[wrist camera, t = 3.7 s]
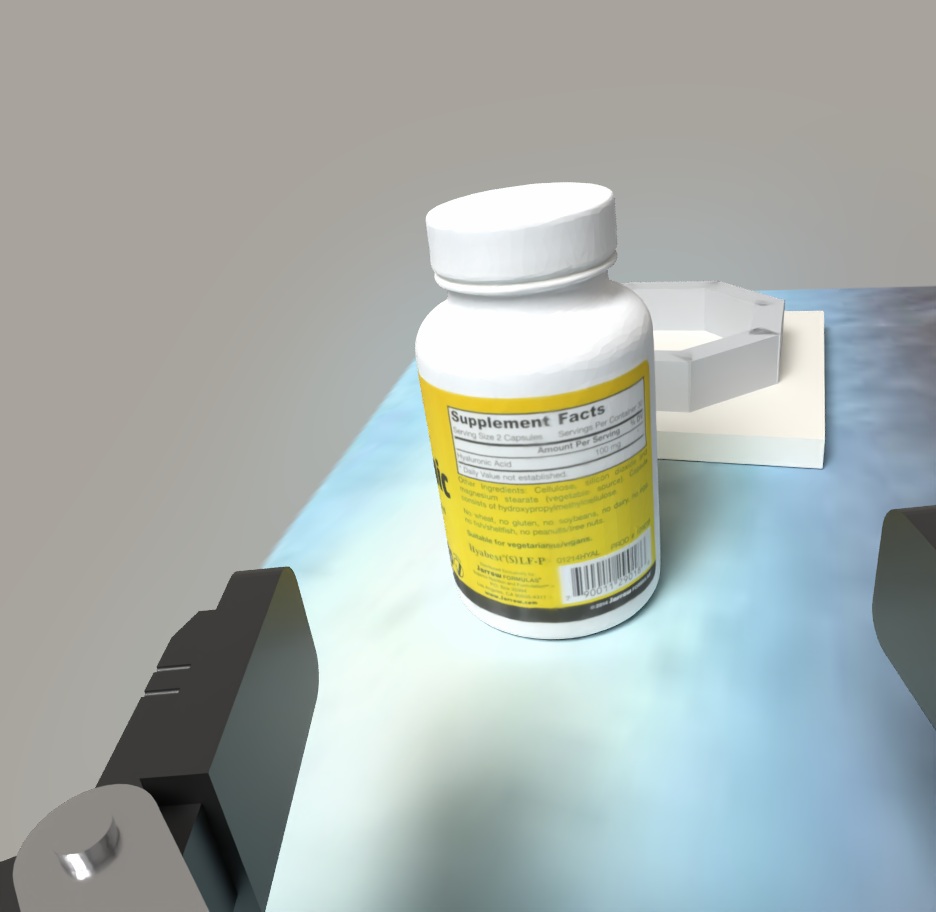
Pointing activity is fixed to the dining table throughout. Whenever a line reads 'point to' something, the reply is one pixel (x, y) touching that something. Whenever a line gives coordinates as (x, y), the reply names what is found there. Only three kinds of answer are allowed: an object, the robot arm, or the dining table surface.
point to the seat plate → (759, 413)
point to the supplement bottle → (541, 411)
